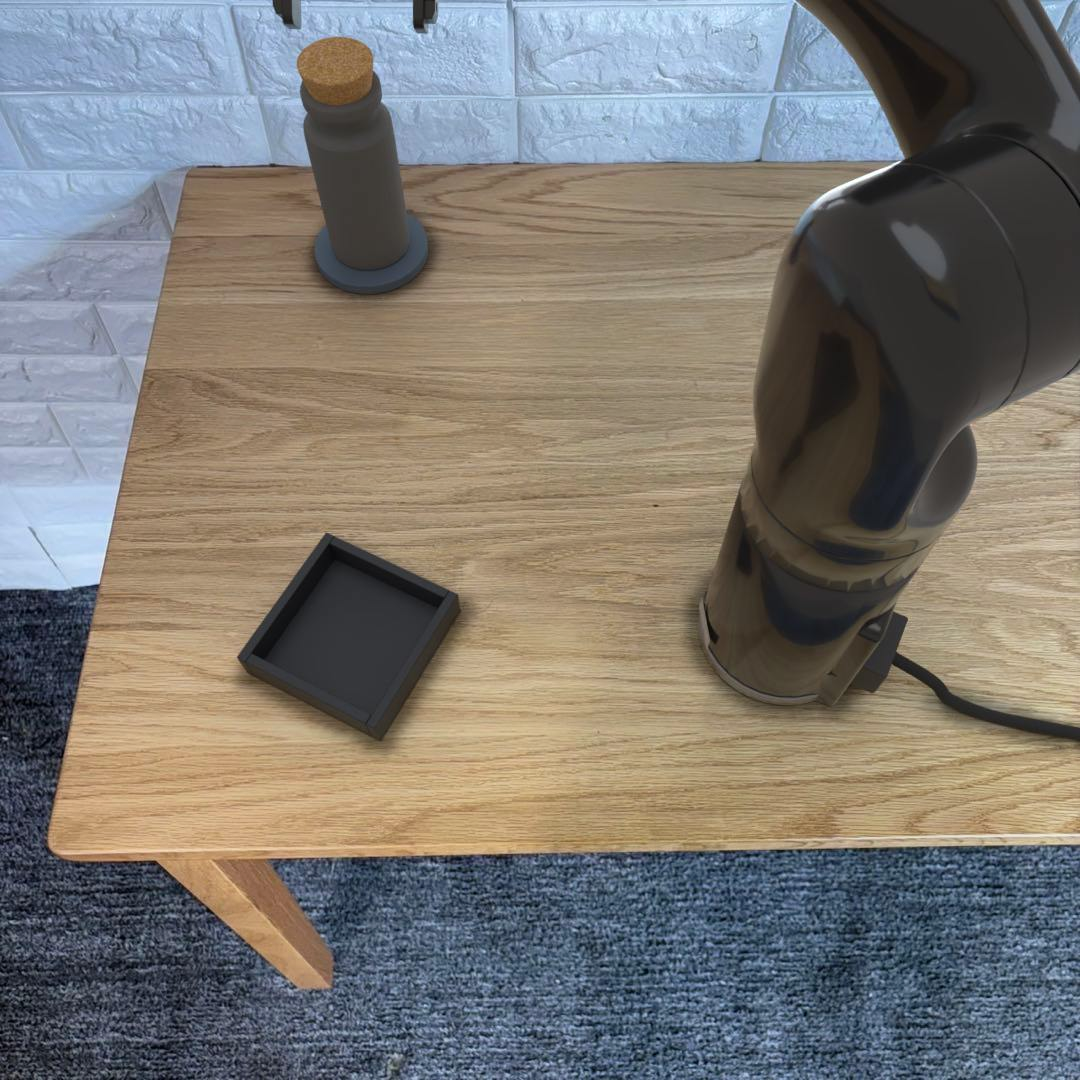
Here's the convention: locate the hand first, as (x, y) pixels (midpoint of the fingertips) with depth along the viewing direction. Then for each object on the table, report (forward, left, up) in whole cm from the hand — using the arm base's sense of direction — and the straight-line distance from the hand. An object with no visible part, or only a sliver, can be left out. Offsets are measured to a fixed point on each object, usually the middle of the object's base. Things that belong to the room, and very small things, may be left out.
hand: (356, 29), depth 66 cm
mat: (-2, +5, -14) cm, 15 cm away
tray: (-18, +33, -14) cm, 40 cm away
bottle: (-2, +5, -14) cm, 15 cm away
